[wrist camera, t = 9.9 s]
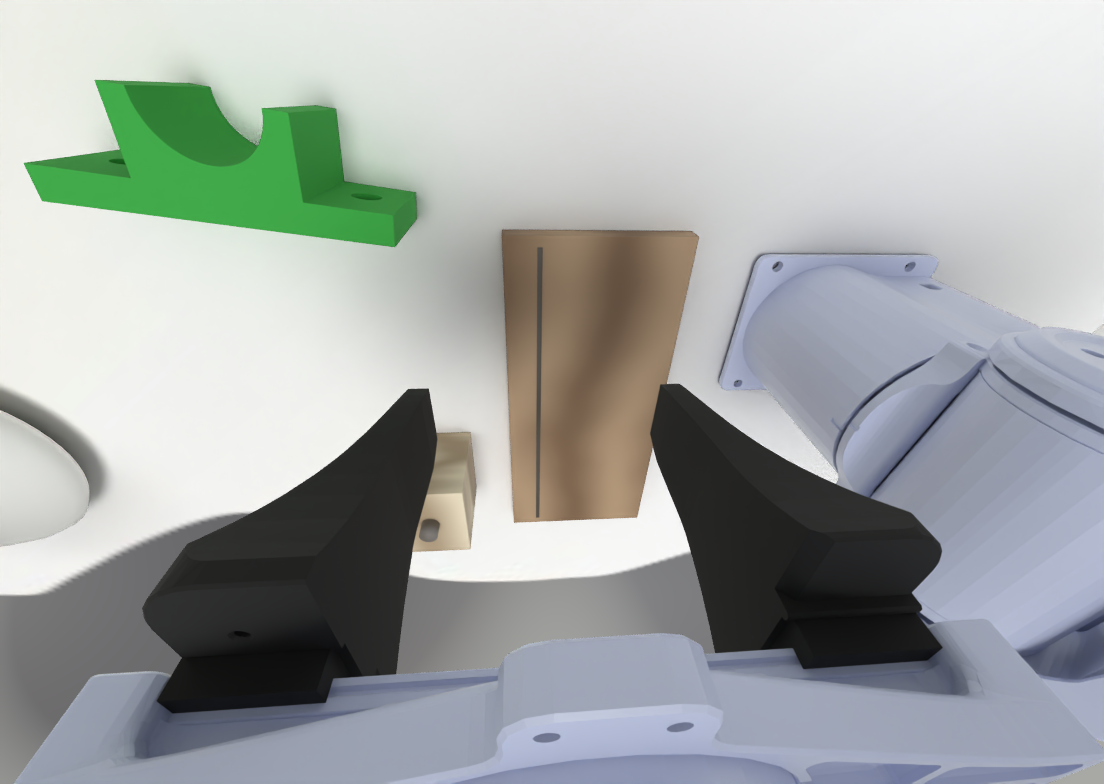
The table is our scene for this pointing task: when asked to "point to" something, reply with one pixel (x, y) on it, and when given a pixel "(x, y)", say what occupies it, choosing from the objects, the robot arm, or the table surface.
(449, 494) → the beige boxy piece
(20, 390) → the table surface
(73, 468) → the flower in vase
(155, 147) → the pipe clamp
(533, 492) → the board
